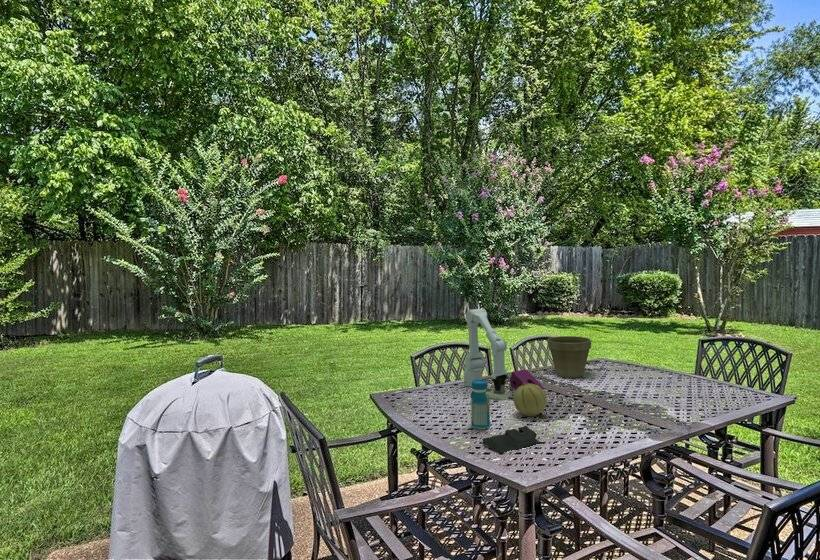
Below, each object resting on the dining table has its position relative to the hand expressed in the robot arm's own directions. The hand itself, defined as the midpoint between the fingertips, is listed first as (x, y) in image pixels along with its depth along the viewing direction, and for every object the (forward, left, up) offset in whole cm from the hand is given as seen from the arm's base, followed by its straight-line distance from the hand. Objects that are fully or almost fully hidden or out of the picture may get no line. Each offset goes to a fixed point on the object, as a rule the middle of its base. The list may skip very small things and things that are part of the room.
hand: (499, 389), depth 255 cm
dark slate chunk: (+29, -53, -5) cm, 61 cm away
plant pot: (+18, +59, -4) cm, 62 cm away
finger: (0, 0, -3) cm, 3 cm away
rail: (-5, 0, -4) cm, 7 cm away
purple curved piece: (+8, +18, -4) cm, 20 cm away
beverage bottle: (+11, -43, -4) cm, 45 cm away
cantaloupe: (+24, -19, -4) cm, 31 cm away
